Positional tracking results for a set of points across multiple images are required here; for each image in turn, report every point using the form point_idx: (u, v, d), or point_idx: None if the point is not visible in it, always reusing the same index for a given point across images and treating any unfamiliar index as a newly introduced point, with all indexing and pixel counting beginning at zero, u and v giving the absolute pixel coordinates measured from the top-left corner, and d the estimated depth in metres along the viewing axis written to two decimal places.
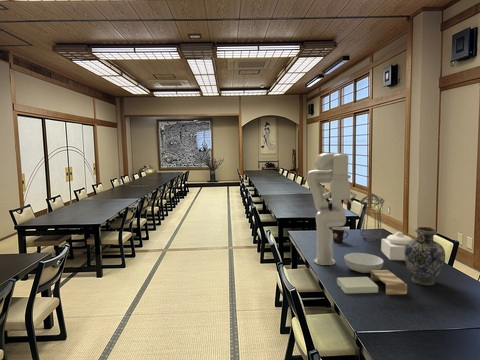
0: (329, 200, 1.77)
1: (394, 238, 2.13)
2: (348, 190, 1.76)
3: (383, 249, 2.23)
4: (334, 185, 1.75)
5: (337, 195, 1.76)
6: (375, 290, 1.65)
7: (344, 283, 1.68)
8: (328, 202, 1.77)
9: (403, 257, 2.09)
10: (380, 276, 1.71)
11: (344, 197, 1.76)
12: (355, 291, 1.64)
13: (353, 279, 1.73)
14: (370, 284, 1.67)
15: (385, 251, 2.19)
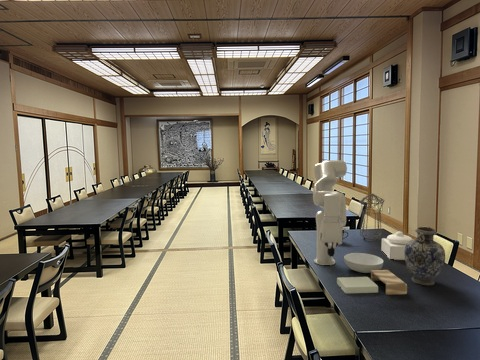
0: (327, 246, 1.66)
1: (394, 238, 2.14)
2: (340, 232, 1.64)
3: (383, 249, 2.23)
4: (325, 227, 1.64)
5: (328, 238, 1.64)
6: (375, 290, 1.65)
7: (344, 283, 1.68)
8: (328, 248, 1.66)
9: (403, 257, 2.10)
10: (380, 276, 1.71)
11: (336, 240, 1.65)
12: (355, 291, 1.64)
13: (353, 279, 1.73)
14: (370, 284, 1.67)
15: (385, 250, 2.20)
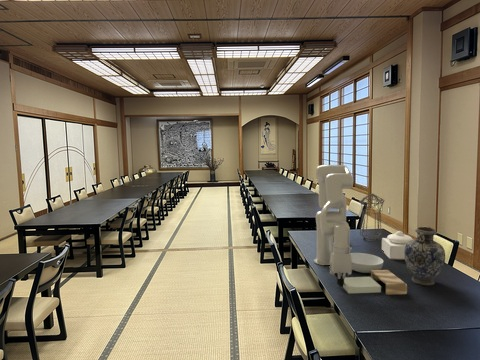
0: (337, 276, 1.68)
1: (394, 237, 2.15)
2: (349, 263, 1.66)
3: (383, 248, 2.24)
4: (335, 258, 1.66)
5: (337, 269, 1.66)
6: (378, 290, 1.65)
7: (347, 283, 1.68)
8: (338, 278, 1.68)
9: (403, 256, 2.11)
10: (380, 276, 1.71)
11: (346, 270, 1.67)
12: (358, 291, 1.64)
13: (356, 279, 1.73)
14: (373, 284, 1.67)
15: (385, 250, 2.21)
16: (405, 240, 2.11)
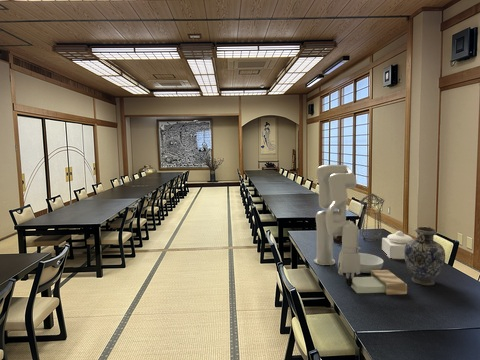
0: (345, 276, 1.68)
1: (394, 237, 2.15)
2: (358, 263, 1.66)
3: (383, 248, 2.25)
4: (343, 258, 1.66)
5: (346, 268, 1.66)
6: None
7: (355, 283, 1.68)
8: (346, 278, 1.69)
9: (403, 256, 2.11)
10: (380, 276, 1.71)
11: (354, 270, 1.67)
12: (367, 291, 1.64)
13: (364, 279, 1.73)
14: (381, 284, 1.67)
15: (385, 250, 2.21)
16: (405, 240, 2.12)
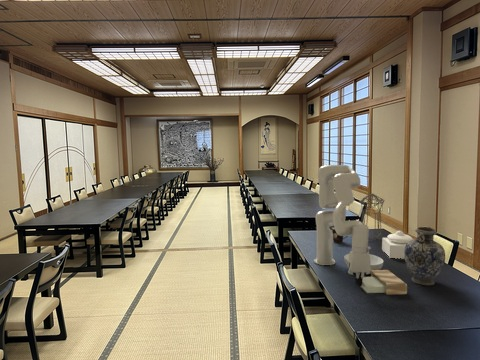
0: (355, 276, 1.68)
1: (394, 237, 2.16)
2: (368, 263, 1.67)
3: (384, 248, 2.25)
4: (353, 258, 1.66)
5: (356, 268, 1.67)
6: None
7: (365, 283, 1.68)
8: None
9: (403, 256, 2.12)
10: (380, 276, 1.71)
11: (364, 270, 1.67)
12: (377, 291, 1.64)
13: (374, 279, 1.73)
14: None
15: (385, 249, 2.22)
16: (405, 240, 2.12)
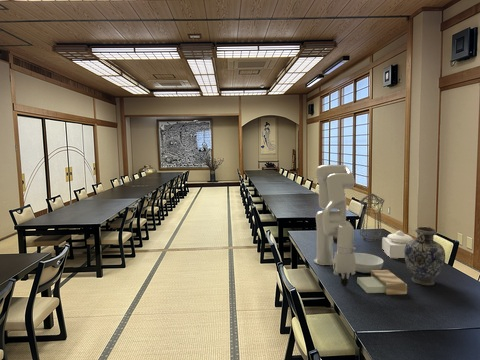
0: (341, 276, 1.68)
1: (394, 237, 2.16)
2: (353, 263, 1.67)
3: (384, 247, 2.26)
4: (339, 258, 1.66)
5: (341, 269, 1.66)
6: None
7: (365, 283, 1.68)
8: (341, 278, 1.69)
9: (403, 255, 2.12)
10: (380, 276, 1.71)
11: (349, 270, 1.67)
12: (377, 291, 1.64)
13: (374, 279, 1.73)
14: None
15: (385, 249, 2.22)
16: (405, 239, 2.13)
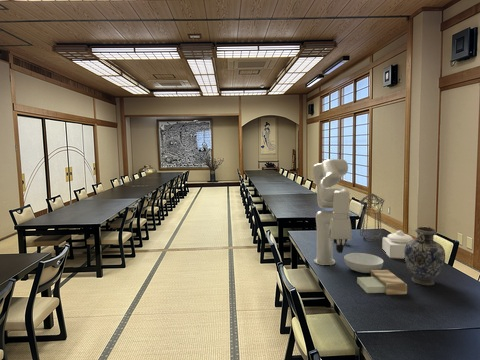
0: (336, 242, 1.67)
1: (394, 236, 2.17)
2: (349, 229, 1.65)
3: (384, 247, 2.26)
4: (334, 224, 1.64)
5: (337, 234, 1.65)
6: None
7: (365, 283, 1.68)
8: (337, 244, 1.67)
9: (403, 255, 2.12)
10: (380, 276, 1.71)
11: (345, 236, 1.65)
12: (377, 291, 1.64)
13: (374, 279, 1.73)
14: None
15: (385, 249, 2.23)
16: (405, 239, 2.13)
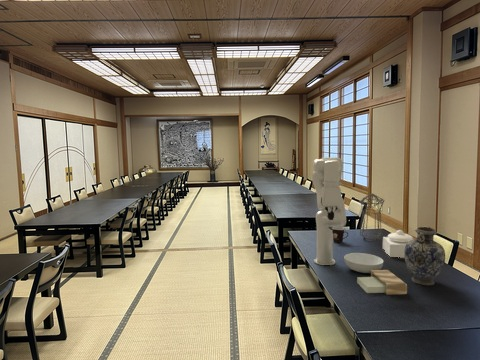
0: (327, 210, 1.77)
1: (394, 236, 2.18)
2: (339, 197, 1.75)
3: (384, 247, 2.27)
4: (325, 192, 1.74)
5: (328, 202, 1.75)
6: None
7: (365, 283, 1.68)
8: (328, 212, 1.77)
9: (403, 255, 2.13)
10: (380, 276, 1.71)
11: (336, 204, 1.75)
12: (377, 291, 1.64)
13: (374, 279, 1.73)
14: None
15: (386, 249, 2.24)
16: (405, 239, 2.14)
